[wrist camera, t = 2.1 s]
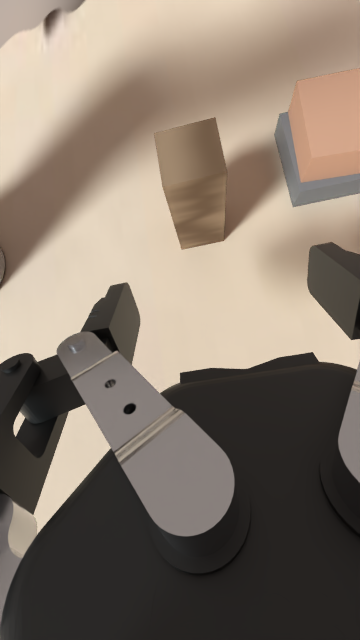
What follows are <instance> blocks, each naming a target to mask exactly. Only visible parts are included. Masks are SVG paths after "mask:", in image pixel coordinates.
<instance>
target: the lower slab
mask: <svg viewBox="0 0 360 640" xmlns="http://www.w3.org/2000/svg"><path fill="white" fill-rule="evenodd" d="M274 135H275V139H276V143H277V147H278V151H279V155H280V159H281V163H282V166H283V170H284V174H285V178H286V182H287V186H288V190H289V194H290V198H291V202H292V205H293V207H296V206H301V205H306V204H310V203H315V202H320V201H325V200H330V199H334V198H339V197H344V196H349V195H353V194H358V193H360V174H353V175H347V176H341V177H334V178H328V179H322V180H315V181H309V182H303V183H301V181H300V175H299V170H298V165H297V159H296V154H295V148H294V143H293V137H292V132H291V126H290V121H289V115H288V112H286V113H281V114H279V118H278V122H277V126H276V130H275V134H274Z"/></svg>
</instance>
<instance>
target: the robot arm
mask: <svg viewBox="0 0 360 640" xmlns="http://www.w3.org/2000/svg"><path fill="white" fill-rule="evenodd" d="M4 270H5V260H4V255H3V252H2V250H1V248H0V283H1V281H2V278H3V275H4ZM307 284H308V289H309V291H310V293H311V295H312V296H313V297H314V298H315V299H316V300H317V302H318V303H319V304H320V305H321V306H322V307H323V308H324V310H325V311H326V312H327V313H328V314H329V315H330V316H331V317H332V319H333V320H334V321H335V322H336V323H337V324H338V325H339V327H340V328H341V329H342V330H343V331H344V332H345V333H346V335H347V336H348V337H349V338H350V339H351V340H355V339H360V254H356V253H353V252H349V251H345V250H344V249H342V248H341V247H339V246H338V245H336V244H334V243H333V242H330V243H325V244H319V245H314V246H312V247H311V248H310V252H309V264H308V278H307ZM139 327H140V315H139V311H138V308H137V306H136V303H135V300H134V297H133V294H132V292H131V289H130V286H129V284H128V283H122V284H117V285H112V286H110V288H109V290H108V292H107V294H106V296H105V298H101V299H100V300H99V301H98V302H97V303H96V304H95V305H94V307H93V309H92V311H91V313H90V315H89V316H88V318H87V320H86V322H85V324H84V326H83V328H82V330H81V332H80V333H77V334H74V335H72V336H70V337H68V338H67V339H65V340H64V341H63V342H62V343H61V344H60V345H59V346H58V348H57V355H55V356H52V357H50V358H47V359H44V360H42V361H39V362H37V361H36V360H35V358H34V357H33V355H32V354H29V353H23V354H19V355H16V356H13V357H11V358H9V359H7V360H6V361H4V362H3V363H1V364H0V640H360V362H359V366H358V369H357V370H356V369H353V368H351V367H347V366H343V365H339V364H334V363H327V362H319V361H318V360H317V358H316V357H315V355H314V353H313V352H311V353H305V354H299V355H292V356H286V357H279V358H276V359H274V360H271V361H268V362H265V363H263V364H260V365H257V366H254V367H252V368H249V369H224V368H208V369H202V370H196V371H189V372H183V373H180V383H178V384H175V385H173V386H171V387H169V388H168V389H166V390H164V391H163V392H161V393H159V392H158V391H157V390H156V389H155V388H154V387H153V386H152V385H151V384H150V383H149V382H148V381H147V380H146V379H145V378H144V377H143V376H142V375H141V374H140V373H139V372H138V371H137V370H136V369H135V368H134V367H133V366H132V361H133V356H134V351H135V346H136V342H137V337H138V332H139ZM85 404H86V405H87V407H88V409H89V411H90V412H91V414H92V416H93V417H94V419H95V421H96V423H97V424H98V426H99V428H100V429H101V431H102V433H103V435H104V436H105V438H106V440H107V441H108V443H109V445H110V447H111V449H110V450H109V451H108V452H107V453H106V454H105V456H104V457H103V458H102V459H101V460H100V461H99V463H98V464H97V465H96V466H95V467H94V468H93V470H92V471H91V472H90V473H89V474H88V475H87V477H86V478H85V479H84V480H83V481H82V483H81V484H80V485H79V486H78V487H77V488H76V490H75V491H74V492H73V493H72V494H71V495H70V497H69V498H68V499H67V500H66V501H65V502H64V504H63V505H62V506H61V507H60V508H59V509H58V511H57V512H56V513H55V514H54V515H53V516H52V518H51V519H50V520H49V521H48V522H47V523H46V525H45V526H44V527H43V528H42V529H41V531H40V532H39V533H38V535H37V522H36V519H35V517H34V516H33V514H34V511H35V509H36V506H37V503H38V500H39V497H40V494H41V491H42V488H43V485H44V482H45V479H46V476H47V474H48V471H49V468H50V465H51V462H52V459H53V456H54V453H55V450H56V447H57V444H58V442H59V439H60V436H61V433H62V430H63V427H64V424H65V421H66V418H67V415H68V412H69V411H71V410H73V409H75V408H78V407H80V406H82V405H85ZM19 411H20V412H21V413H22V414H23V415H24V417H25V419H24V421H23V423H22V425H21V427H20V429H19V431H18V433H17V435H16V437H15V435H14V432H13V425H14V421H15V419H16V417H17V415H18V413H19ZM36 535H37V536H36Z"/></svg>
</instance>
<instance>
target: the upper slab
mask: <svg viewBox="0 0 360 640" xmlns="http://www.w3.org/2000/svg"><path fill="white" fill-rule="evenodd" d="M288 115H289V121H290V126H291V132H292V137H293V143H294V148H295V154H296V159H297V165H298V170H299V175H300V181H301V183H303V182H309V181H315V180H322V179H328V178H334V177H341V176H347V175H353V174H360V68H358V69H353V70H348V71H343V72H338V73H333V74H328V75H323V76H319V77H314V78H309V79H304V80H299V81H297V82H296V86H295V89H294V93H293V97H292V100H291V104H290V107H289V111H288Z"/></svg>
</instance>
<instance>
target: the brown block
mask: <svg viewBox="0 0 360 640" xmlns="http://www.w3.org/2000/svg"><path fill="white" fill-rule="evenodd" d="M154 136H155V142H156V149H157V155H158V161H159V167H160V174H161V180H162V186H163V190H164V193H165V196H166V200H167V203H168V206H169V209H170V213H171V216H172V219H173V222H174V226H175V229H176V232H177V235H178V239H179V242H180V245H181V248H182V249H187V248H192V247H197V246H201V245H206V244H211V243H216V242H221V241H224V225H225V204H226V183H227V169H226V164H225V160H224V155H223V151H222V146H221V141H220V137H219V132H218V128H217V123H216V118H215V117H214V118H211V119H207V120H203V121H199V122H195V123H192V124H188V125H184V126H180V127H176V128H173V129H169V130H165V131H161V132H157V133H154Z"/></svg>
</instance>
